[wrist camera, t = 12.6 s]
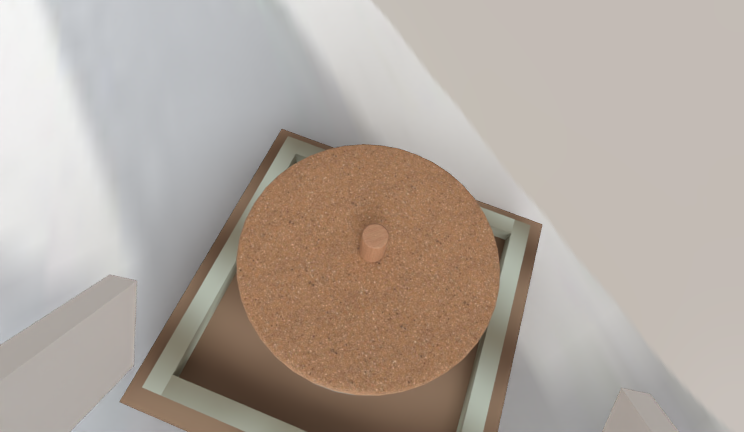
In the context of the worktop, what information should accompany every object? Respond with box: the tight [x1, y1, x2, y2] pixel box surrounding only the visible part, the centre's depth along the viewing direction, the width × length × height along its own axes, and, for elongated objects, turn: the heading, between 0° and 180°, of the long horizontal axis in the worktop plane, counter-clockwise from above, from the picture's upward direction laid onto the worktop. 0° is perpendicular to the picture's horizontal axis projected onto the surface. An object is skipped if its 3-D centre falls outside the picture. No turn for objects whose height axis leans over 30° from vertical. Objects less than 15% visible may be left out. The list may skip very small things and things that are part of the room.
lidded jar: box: [236, 144, 500, 396], centre depth 21 cm, size 11×11×9 cm
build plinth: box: [120, 129, 542, 432], centre depth 26 cm, size 18×18×5 cm
